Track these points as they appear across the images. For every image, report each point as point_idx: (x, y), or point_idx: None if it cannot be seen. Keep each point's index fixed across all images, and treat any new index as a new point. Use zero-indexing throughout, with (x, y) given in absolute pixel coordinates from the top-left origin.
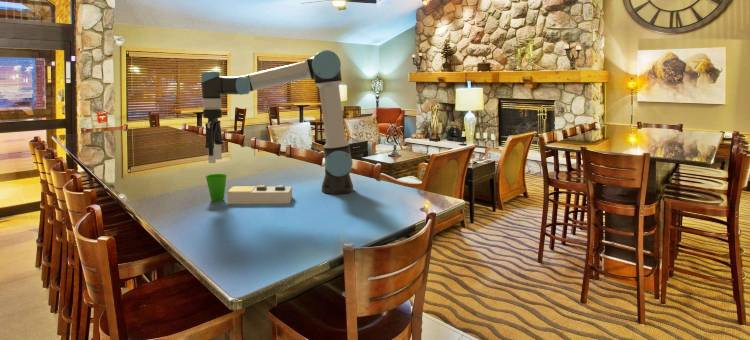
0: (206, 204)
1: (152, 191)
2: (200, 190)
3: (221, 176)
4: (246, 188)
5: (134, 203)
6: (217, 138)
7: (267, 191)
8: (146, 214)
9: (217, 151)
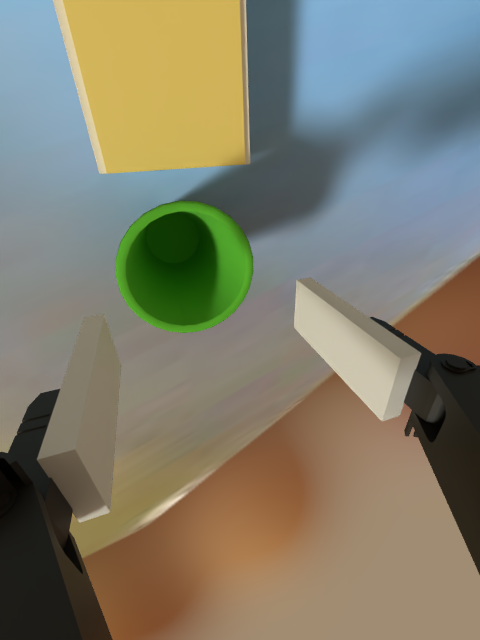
0: None
1: None
2: (14, 384)
3: (128, 259)
4: (152, 39)
5: (236, 441)
6: (92, 634)
7: None
8: None
9: (105, 400)
